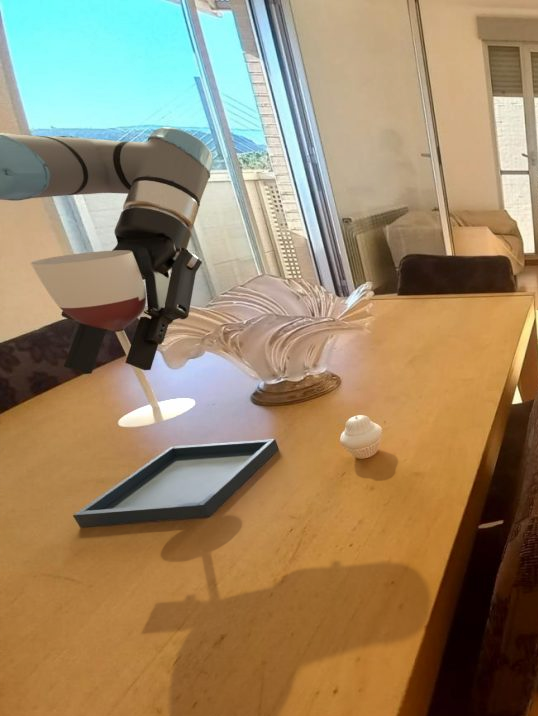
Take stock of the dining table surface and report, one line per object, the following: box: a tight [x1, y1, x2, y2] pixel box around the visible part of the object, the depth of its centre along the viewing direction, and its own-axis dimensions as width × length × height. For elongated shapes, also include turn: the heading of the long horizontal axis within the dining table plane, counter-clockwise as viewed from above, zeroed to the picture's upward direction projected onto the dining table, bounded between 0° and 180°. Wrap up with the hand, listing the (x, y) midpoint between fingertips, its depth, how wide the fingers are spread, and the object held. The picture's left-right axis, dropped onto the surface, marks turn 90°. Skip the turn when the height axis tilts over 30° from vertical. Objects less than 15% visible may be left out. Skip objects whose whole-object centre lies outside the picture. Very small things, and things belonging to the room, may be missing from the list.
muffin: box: [339, 414, 383, 460], centre depth 77 cm, size 6×6×7 cm
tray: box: [72, 438, 280, 528], centre depth 71 cm, size 17×17×2 cm
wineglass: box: [30, 250, 196, 428], centre depth 63 cm, size 9×10×22 cm
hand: (108, 368), depth 61 cm, fingers closed on wineglass, 7 cm apart
